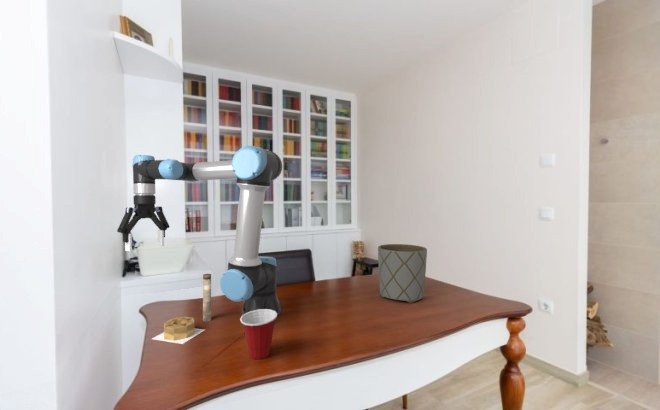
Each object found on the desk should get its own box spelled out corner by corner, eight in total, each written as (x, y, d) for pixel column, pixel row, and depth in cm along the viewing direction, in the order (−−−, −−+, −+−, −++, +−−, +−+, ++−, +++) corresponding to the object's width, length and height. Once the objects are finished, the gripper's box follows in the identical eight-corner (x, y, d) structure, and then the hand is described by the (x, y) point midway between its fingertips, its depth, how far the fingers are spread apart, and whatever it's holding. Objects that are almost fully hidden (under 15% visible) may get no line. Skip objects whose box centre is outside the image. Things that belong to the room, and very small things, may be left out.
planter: (431, 294, 154) (432, 246, 154) (417, 307, 135) (418, 253, 134) (388, 286, 166) (388, 242, 166) (369, 298, 147) (370, 248, 147)
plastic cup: (234, 352, 95) (234, 313, 94) (267, 343, 101) (267, 306, 101) (248, 368, 86) (248, 325, 86) (283, 356, 93) (283, 316, 92)
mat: (205, 332, 109) (205, 329, 108) (182, 347, 98) (182, 343, 98) (176, 328, 112) (176, 325, 112) (151, 341, 101) (151, 338, 101)
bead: (199, 330, 108) (199, 318, 108) (180, 341, 99) (180, 329, 99) (178, 327, 110) (177, 315, 110) (157, 338, 102) (157, 325, 102)
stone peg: (212, 321, 118) (212, 274, 118) (207, 324, 115) (207, 275, 115) (206, 320, 119) (206, 273, 118) (201, 323, 116) (201, 275, 116)
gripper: (165, 195, 137) (166, 243, 138) (105, 194, 115) (106, 252, 115) (178, 194, 134) (178, 244, 135) (118, 194, 112) (119, 253, 112)
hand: (145, 248), depth 125 cm, fingers open, 13 cm apart
